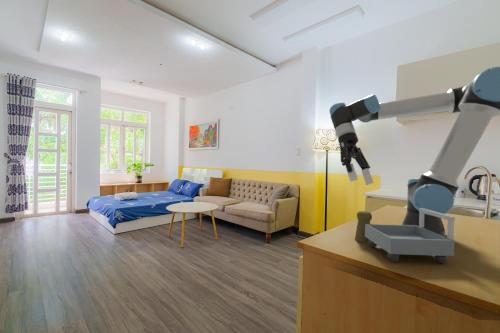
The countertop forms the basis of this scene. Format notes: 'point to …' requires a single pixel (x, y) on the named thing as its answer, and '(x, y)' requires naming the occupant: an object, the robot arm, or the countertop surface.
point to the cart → (413, 238)
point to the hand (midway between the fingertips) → (362, 182)
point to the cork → (362, 226)
